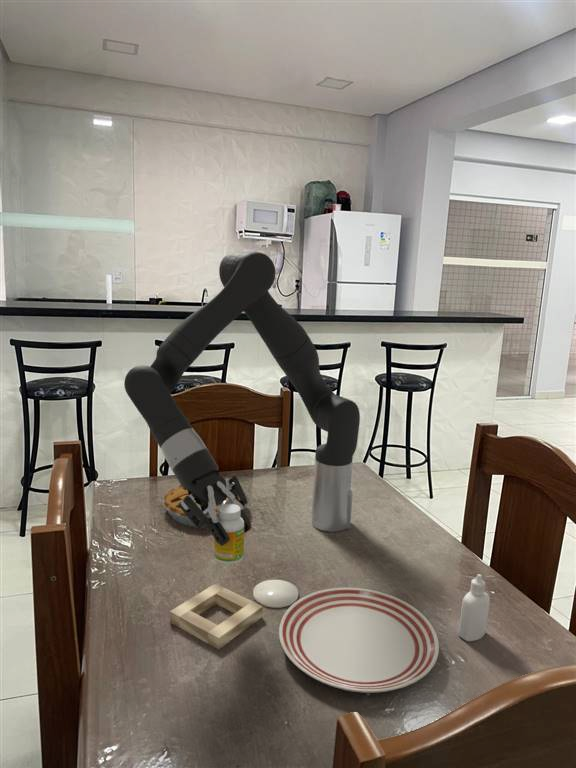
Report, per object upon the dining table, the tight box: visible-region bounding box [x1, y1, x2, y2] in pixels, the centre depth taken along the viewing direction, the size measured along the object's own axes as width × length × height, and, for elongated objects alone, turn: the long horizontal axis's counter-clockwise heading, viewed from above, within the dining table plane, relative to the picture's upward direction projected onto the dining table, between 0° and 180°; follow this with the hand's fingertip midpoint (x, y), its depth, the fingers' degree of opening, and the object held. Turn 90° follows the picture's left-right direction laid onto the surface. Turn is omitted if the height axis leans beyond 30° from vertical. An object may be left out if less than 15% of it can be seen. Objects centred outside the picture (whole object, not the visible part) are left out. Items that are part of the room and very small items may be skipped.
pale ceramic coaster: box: [252, 579, 299, 609], centre depth 117 cm, size 9×9×1 cm
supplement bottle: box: [213, 504, 245, 565], centre depth 106 cm, size 5×5×10 cm
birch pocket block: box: [169, 583, 264, 650], centre depth 108 cm, size 12×12×2 cm
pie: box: [162, 484, 249, 528], centre depth 153 cm, size 22×22×5 cm
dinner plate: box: [278, 587, 440, 694], centre depth 102 cm, size 27×27×3 cm
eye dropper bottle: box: [458, 573, 491, 642], centre depth 106 cm, size 4×6×12 cm
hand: (237, 536), depth 105 cm, fingers closed on supplement bottle, 5 cm apart
